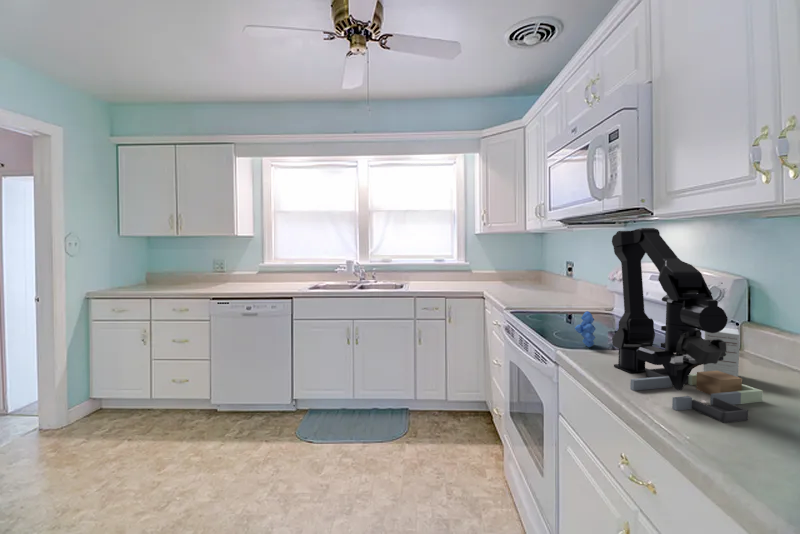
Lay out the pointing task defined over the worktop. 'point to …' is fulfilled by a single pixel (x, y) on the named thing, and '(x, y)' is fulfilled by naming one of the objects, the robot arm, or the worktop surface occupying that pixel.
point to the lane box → (718, 407)
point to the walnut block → (717, 382)
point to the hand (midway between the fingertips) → (678, 389)
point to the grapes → (586, 329)
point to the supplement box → (732, 351)
